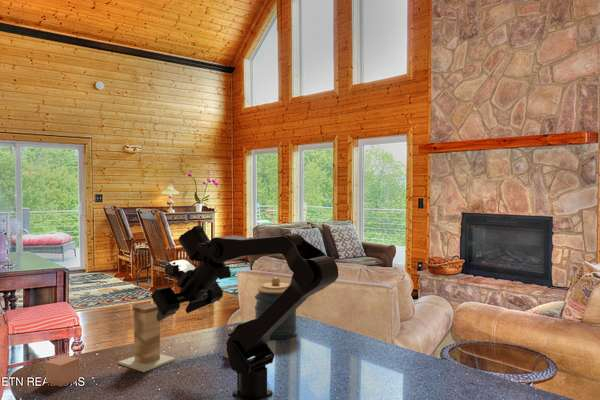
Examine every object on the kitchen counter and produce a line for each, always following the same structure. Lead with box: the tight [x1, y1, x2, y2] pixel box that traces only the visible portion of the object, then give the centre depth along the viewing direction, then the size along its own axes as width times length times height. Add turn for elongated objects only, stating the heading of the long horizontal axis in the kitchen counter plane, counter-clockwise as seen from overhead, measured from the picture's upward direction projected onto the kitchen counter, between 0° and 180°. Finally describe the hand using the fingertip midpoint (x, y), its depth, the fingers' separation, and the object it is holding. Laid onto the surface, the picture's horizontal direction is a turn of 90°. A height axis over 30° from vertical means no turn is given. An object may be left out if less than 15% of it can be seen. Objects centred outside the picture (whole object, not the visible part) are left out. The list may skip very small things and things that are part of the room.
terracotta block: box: [45, 355, 80, 387], centre depth 116 cm, size 5×5×5 cm
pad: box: [118, 353, 176, 373], centre depth 128 cm, size 10×10×1 cm
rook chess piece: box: [222, 324, 237, 360], centre depth 133 cm, size 4×4×8 cm
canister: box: [254, 276, 298, 341], centre depth 152 cm, size 13×13×18 cm
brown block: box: [132, 302, 161, 364], centre depth 128 cm, size 5×5×14 cm
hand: (172, 315), depth 122 cm, fingers open, 9 cm apart
